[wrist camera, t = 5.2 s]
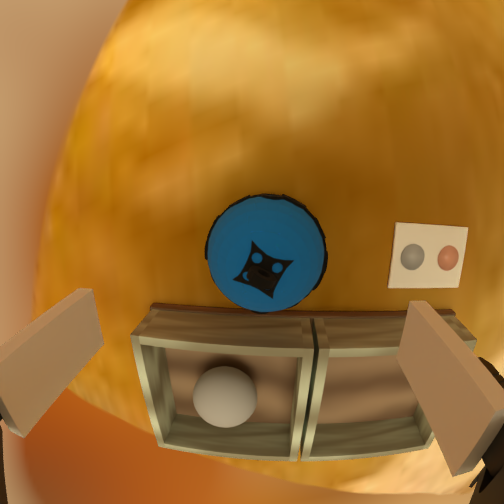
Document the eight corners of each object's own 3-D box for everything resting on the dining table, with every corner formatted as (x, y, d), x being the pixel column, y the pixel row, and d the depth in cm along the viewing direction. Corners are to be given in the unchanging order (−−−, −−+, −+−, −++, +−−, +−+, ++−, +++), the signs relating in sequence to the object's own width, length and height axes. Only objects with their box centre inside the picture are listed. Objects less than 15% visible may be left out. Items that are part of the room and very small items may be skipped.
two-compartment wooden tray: (153, 302, 29) (127, 332, 23) (451, 309, 26) (479, 337, 21) (172, 412, 33) (157, 447, 27) (415, 415, 30) (429, 449, 25)
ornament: (203, 261, 27) (164, 310, 18) (244, 171, 25) (221, 174, 15) (290, 302, 28) (293, 369, 18) (337, 218, 25) (368, 248, 16)
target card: (395, 221, 25) (397, 223, 24) (466, 227, 24) (469, 228, 24) (387, 286, 26) (388, 288, 26) (456, 286, 26) (459, 288, 25)
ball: (198, 351, 29) (181, 390, 23) (260, 356, 28) (254, 397, 23) (203, 396, 31) (189, 435, 25) (259, 401, 30) (254, 442, 24)
